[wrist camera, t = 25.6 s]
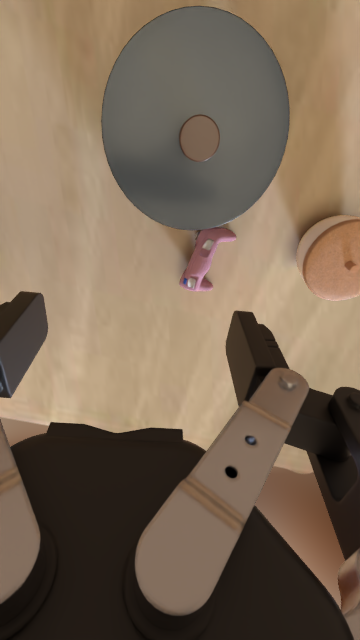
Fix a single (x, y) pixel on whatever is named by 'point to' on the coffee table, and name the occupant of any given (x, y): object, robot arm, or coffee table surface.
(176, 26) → the lid
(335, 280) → the trinket box
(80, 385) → the coffee table surface
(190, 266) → the video game controller
